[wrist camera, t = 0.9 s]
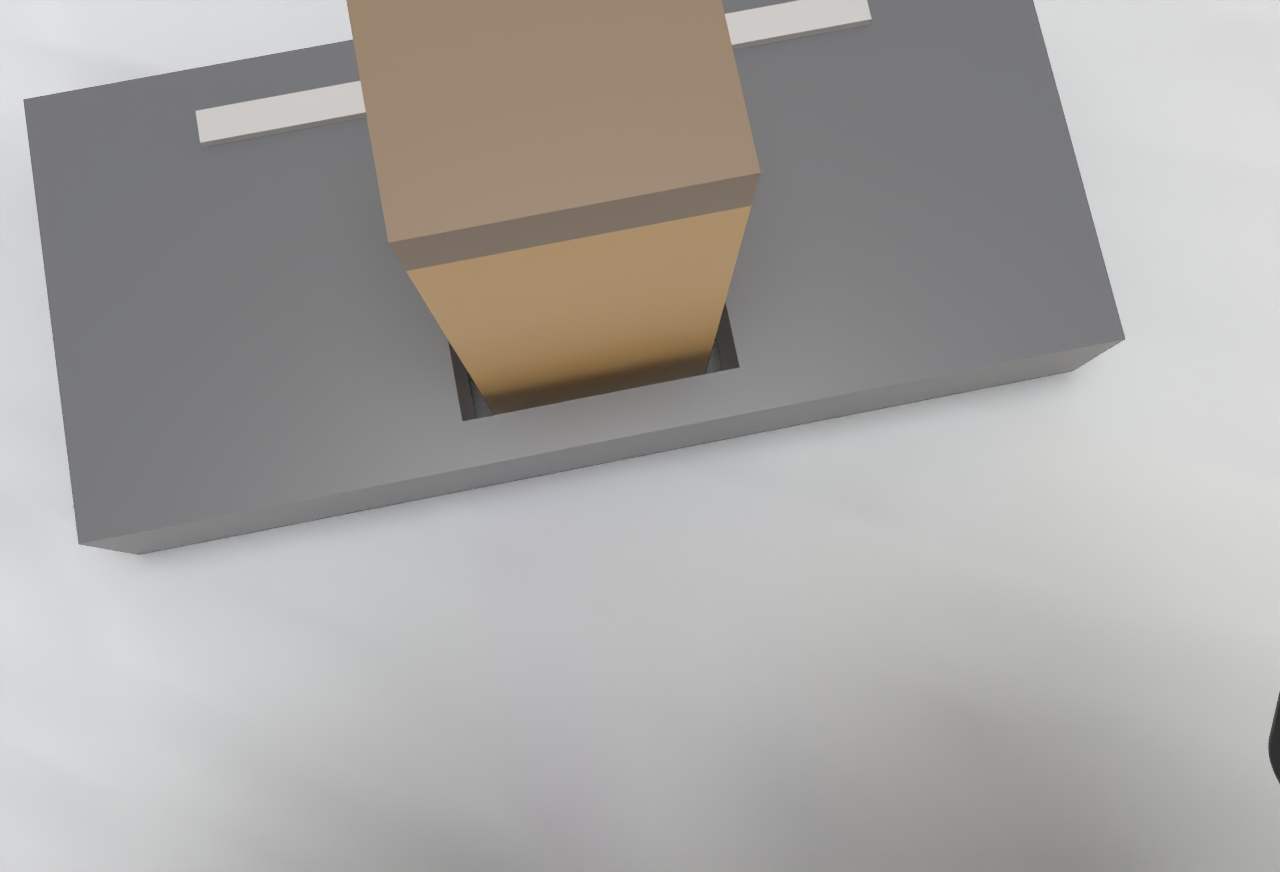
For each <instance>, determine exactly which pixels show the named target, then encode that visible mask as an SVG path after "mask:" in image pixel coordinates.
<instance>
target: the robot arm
mask: <svg viewBox="0 0 1280 872" xmlns="http://www.w3.org/2000/svg"><path fill="white" fill-rule="evenodd" d="M1268 748H1269V757H1270V762H1271V765H1272V768H1273V771H1274V773H1275V775H1276V777H1277V779H1278V781H1279V783H1280V692H1279V697H1278V701H1277V706H1276V710H1275V714H1274V719H1273V723H1272V728H1271V732H1270V736H1269V743H1268Z"/></svg>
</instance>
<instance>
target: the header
mask: <svg viewBox="0 0 1280 872" xmlns="http://www.w3.org/2000/svg"><path fill="white" fill-rule="evenodd" d="M722 4H723V9H724V13H725V18H726V22H727V26H728V31H729V35H730V40H731V44H732V48H733V53H734V57H735V62H736V66H737V70H738V75H739V79H740V84H741V88H742V92H743V97H744V101H745V106H746V110H747V114H748V119H749V123H750V128H751V132H752V136H753V141H754V145H755V150H756V154H757V158H758V163H759V167H760V172H761V173H760V177H759V181H758V184H757V188H756V191H755V195H754V199H753V202H752V206H751V210H750V213H749V217H748V221H747V224H746V228H745V231H744V235H743V239H742V242H741V246H740V250H739V253H738V257H737V261H736V264H735V268H734V271H733V275H732V279H731V282H730V286H729V290H728V293H727V297H726V301H725V304H724V308H723V311H722V315H721V319H720V322H719V326H718V330H717V333H716V341H717V346H718V351H719V355H720V360H721V365H722V369H723V371H719V372H714V373H709V374H704V375H699V376H693V377H688V378H683V379H678V380H673V381H668V382H663V383H657V384H652V385H647V386H642V387H637V388H632V389H627V390H621V391H616V392H611V393H606V394H601V395H596V396H591V397H585V398H580V399H575V400H570V401H565V402H560V403H555V404H549V405H544V406H539V407H534V408H529V409H524V410H519V411H513V412H508V413H503V414H498V415H493V416H488V417H483V418H478V419H476V416H475V411H474V405H473V400H472V394H471V389H470V383H469V378H468V372H467V370H466V368H465V366H464V365H463V363H462V362H461V360H460V358H459V357H458V355H457V353H456V352H455V350H454V349H453V347H452V345H451V344H450V342H449V340H448V339H447V337H446V336H445V334H444V332H443V331H442V329H441V327H440V326H439V324H438V323H437V321H436V319H435V318H434V316H433V314H432V313H431V311H430V310H429V308H428V306H427V305H426V303H425V301H424V300H423V298H422V297H421V295H420V293H419V292H418V290H417V288H416V287H415V285H414V284H413V282H412V280H411V279H410V277H409V275H408V274H407V272H406V271H405V269H404V267H403V266H402V264H401V262H400V261H399V259H398V258H397V256H396V254H395V253H394V251H393V249H392V248H391V246H390V245H389V243H388V238H387V232H386V226H385V220H384V215H383V209H382V203H381V197H380V191H379V186H378V180H377V174H376V168H375V162H374V157H373V151H372V145H371V139H370V134H369V128H368V122H367V116H366V110H365V105H364V99H363V93H362V87H361V81H360V76H359V70H358V64H357V58H356V53H355V47H354V41H353V40H348V41H343V42H337V43H332V44H326V45H321V46H315V47H310V48H304V49H299V50H293V51H288V52H282V53H277V54H271V55H266V56H260V57H255V58H249V59H244V60H238V61H233V62H227V63H222V64H216V65H211V66H205V67H200V68H194V69H189V70H183V71H178V72H172V73H167V74H161V75H156V76H150V77H145V78H139V79H134V80H128V81H123V82H117V83H112V84H106V85H101V86H95V87H90V88H84V89H79V90H73V91H68V92H62V93H57V94H51V95H46V96H40V97H35V98H29V99H24V108H25V116H26V124H27V132H28V140H29V148H30V156H31V164H32V172H33V180H34V188H35V196H36V204H37V212H38V220H39V228H40V236H41V244H42V252H43V261H44V269H45V277H46V285H47V293H48V301H49V309H50V317H51V325H52V333H53V341H54V349H55V357H56V365H57V373H58V381H59V389H60V397H61V405H62V413H63V422H64V430H65V438H66V446H67V454H68V462H69V470H70V478H71V486H72V494H73V502H74V510H75V518H76V526H77V534H78V542H79V544H80V545H86V546H92V547H98V548H104V549H110V550H115V551H121V552H127V553H133V554H144V553H149V552H155V551H160V550H165V549H170V548H175V547H180V546H185V545H190V544H195V543H200V542H205V541H210V540H216V539H221V538H226V537H231V536H236V535H241V534H246V533H251V532H256V531H261V530H266V529H271V528H277V527H282V526H287V525H292V524H297V523H302V522H307V521H312V520H317V519H322V518H327V517H332V516H337V515H343V514H348V513H353V512H358V511H363V510H368V509H373V508H378V507H383V506H388V505H393V504H398V503H404V502H409V501H414V500H419V499H424V498H429V497H434V496H439V495H444V494H449V493H454V492H459V491H465V490H470V489H475V488H480V487H485V486H490V485H495V484H500V483H505V482H510V481H515V480H520V479H526V478H531V477H536V476H541V475H546V474H551V473H556V472H561V471H566V470H571V469H576V468H581V467H586V466H592V465H597V464H602V463H607V462H612V461H617V460H622V459H627V458H632V457H637V456H642V455H647V454H653V453H658V452H663V451H668V450H673V449H678V448H683V447H688V446H693V445H698V444H703V443H708V442H714V441H719V440H724V439H729V438H734V437H739V436H744V435H749V434H754V433H759V432H764V431H769V430H775V429H780V428H785V427H790V426H795V425H800V424H805V423H810V422H815V421H820V420H825V419H830V418H835V417H841V416H846V415H851V414H856V413H861V412H866V411H871V410H876V409H881V408H886V407H891V406H896V405H902V404H907V403H912V402H917V401H922V400H927V399H932V398H937V397H942V396H947V395H952V394H957V393H963V392H968V391H973V390H978V389H983V388H988V387H993V386H998V385H1003V384H1008V383H1013V382H1018V381H1024V380H1029V379H1034V378H1039V377H1044V376H1049V375H1054V374H1059V373H1064V372H1069V371H1074V370H1075V369H1077V368H1078V367H1080V366H1082V365H1083V364H1085V363H1087V362H1088V361H1090V360H1092V359H1093V358H1095V357H1097V356H1098V355H1100V354H1101V353H1103V352H1105V351H1106V350H1108V349H1110V348H1111V347H1113V346H1115V345H1116V344H1118V343H1120V342H1121V341H1123V340H1124V339H1125V336H1124V333H1123V329H1122V325H1121V322H1120V318H1119V314H1118V311H1117V307H1116V303H1115V300H1114V296H1113V292H1112V289H1111V285H1110V281H1109V278H1108V274H1107V270H1106V267H1105V263H1104V259H1103V256H1102V252H1101V248H1100V245H1099V241H1098V237H1097V234H1096V230H1095V226H1094V223H1093V219H1092V215H1091V212H1090V208H1089V204H1088V201H1087V197H1086V193H1085V190H1084V186H1083V182H1082V178H1081V175H1080V171H1079V167H1078V164H1077V160H1076V156H1075V153H1074V149H1073V145H1072V142H1071V138H1070V134H1069V131H1068V127H1067V123H1066V120H1065V116H1064V112H1063V109H1062V105H1061V101H1060V98H1059V94H1058V90H1057V87H1056V83H1055V79H1054V76H1053V72H1052V68H1051V65H1050V61H1049V57H1048V54H1047V50H1046V46H1045V43H1044V39H1043V35H1042V32H1041V28H1040V24H1039V21H1038V17H1037V13H1036V10H1035V6H1034V2H1033V0H722Z"/></svg>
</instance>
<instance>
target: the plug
mask: <svg viewBox="0 0 1280 872" xmlns="http://www.w3.org/2000/svg"><path fill="white" fill-rule="evenodd" d="M347 6H348V12H349V18H350V24H351V29H352V35H353V41H354V47H355V53H356V58H357V64H358V70H359V76H360V81H361V87H362V93H363V99H364V105H365V110H366V116H367V122H368V128H369V134H370V139H371V145H372V151H373V157H374V162H375V168H376V174H377V180H378V186H379V191H380V197H381V203H382V209H383V215H384V220H385V226H386V232H387V238H388V243H389V245H390V246H391V248H392V249H393V251H394V253H395V254H396V256H397V258H398V259H399V261H400V262H401V264H402V266H403V267H404V269H405V271H406V272H407V274H408V275H409V277H410V279H411V280H412V282H413V284H414V285H415V287H416V288H417V290H418V292H419V293H420V295H421V297H422V298H423V300H424V301H425V303H426V305H427V306H428V308H429V310H430V311H431V313H432V314H433V316H434V318H435V319H436V321H437V323H438V324H439V326H440V327H441V329H442V331H443V332H444V334H445V336H446V337H447V339H448V340H449V342H450V344H451V345H452V347H453V349H454V350H455V352H456V353H457V355H458V357H459V358H460V360H461V362H462V363H463V365H464V366H465V368H466V370H467V371H468V373H469V375H470V376H471V378H472V379H473V381H474V383H475V384H476V386H477V388H478V389H479V391H480V392H481V394H482V396H483V397H484V399H485V401H486V402H487V404H488V405H489V407H490V409H491V410H492V412H493V414H494V415H498V414H503V413H508V412H513V411H519V410H524V409H529V408H534V407H539V406H544V405H549V404H555V403H560V402H565V401H570V400H575V399H580V398H585V397H591V396H596V395H601V394H606V393H611V392H616V391H621V390H627V389H632V388H637V387H642V386H647V385H652V384H657V383H663V382H668V381H673V380H678V379H683V378H688V377H693V376H699V375H704V374H705V373H706V370H707V366H708V362H709V359H710V355H711V351H712V348H713V344H714V341H715V337H716V333H717V330H718V326H719V322H720V319H721V315H722V311H723V308H724V304H725V301H726V297H727V293H728V290H729V286H730V282H731V279H732V275H733V271H734V268H735V264H736V261H737V257H738V253H739V250H740V246H741V242H742V239H743V235H744V231H745V228H746V224H747V221H748V217H749V213H750V210H751V206H752V202H753V199H754V195H755V191H756V188H757V184H758V181H759V177H760V173H761V172H760V167H759V163H758V158H757V154H756V150H755V145H754V141H753V136H752V132H751V128H750V123H749V119H748V114H747V110H746V106H745V101H744V97H743V92H742V88H741V84H740V79H739V75H738V70H737V66H736V62H735V57H734V53H733V48H732V44H731V40H730V35H729V31H728V26H727V22H726V18H725V13H724V9H723V4H722V0H347Z"/></svg>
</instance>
